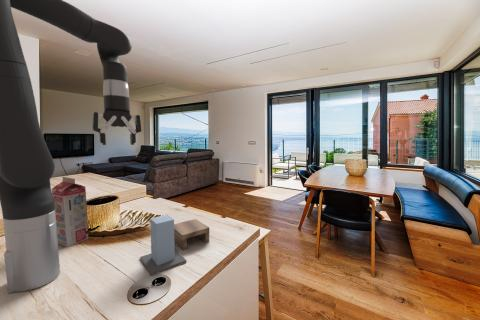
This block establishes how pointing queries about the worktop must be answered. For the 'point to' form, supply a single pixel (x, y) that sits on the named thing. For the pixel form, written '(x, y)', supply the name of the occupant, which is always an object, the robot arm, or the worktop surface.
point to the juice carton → (70, 212)
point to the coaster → (155, 268)
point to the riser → (189, 232)
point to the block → (162, 239)
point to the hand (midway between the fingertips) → (118, 144)
